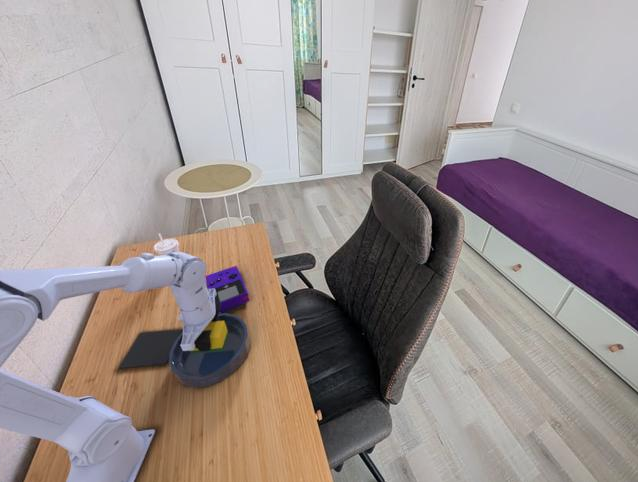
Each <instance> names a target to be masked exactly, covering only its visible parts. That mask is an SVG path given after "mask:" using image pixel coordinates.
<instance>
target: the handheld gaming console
mask: <svg viewBox="0 0 638 482" xmlns="http://www.w3.org/2000/svg"><path fill="white" fill-rule="evenodd" d="M205 280H206V281H205V284H206V287H207V289H215V290H216V293H217V294H216V297H215V303H216V302H219V303H220V304H221V307H220V310H219V314H223V313H228V314H231V313H232V312H235V311H237V310H239V309H241V308H244V304H246V303H249V301H250V298H249V293H248V290H247V288H246V285H245V283H244V280H243V277H242V275H241V273H240V270H239V268H238V265H234V266H231V267H228V268H224V269H221V270H219V271H216V272H213V273H211V274H207V275H205Z"/></svg>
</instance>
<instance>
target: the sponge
mask: <svg viewBox="0 0 638 482" xmlns="http://www.w3.org/2000/svg"><path fill="white" fill-rule="evenodd" d="M205 330H212V331H211V334H210V343H211V348H210V350H209V351H202V352H212V351H222V350H223V349H224V346H225V343H226V340H227V337H228V334H229V333H228V330H227V327H226V324H225V321H214V322H210V323H209V324H208V325H207V326H206V328H205V329H204V331H205ZM202 352H201V351H199V350H198V349H197V348H196V347H195V348H194V350H190V353H191V354H193V353H202Z"/></svg>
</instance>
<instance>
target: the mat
mask: <svg viewBox="0 0 638 482" xmlns="http://www.w3.org/2000/svg"><path fill="white" fill-rule="evenodd" d="M182 332H183V328H180V329H169V330H158V331H146V332H140V333H139V334H138V335H137V337H136V338H135V340H134V342H133V344H132V345H131V347H130V348H129V350H128V352H127V353H126V355H125V356H124V358H123V360H122V361H121V363H120V365H119V366H118V370H125V369H135V368H146V367H153V366H163V365H167V364H169V355H170V350H171V348H172V346H173V344H174V342H175V340H176V339H177V338H178V337H179V336H180V335H181V333H182Z"/></svg>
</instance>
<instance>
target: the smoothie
mask: <svg viewBox="0 0 638 482" xmlns="http://www.w3.org/2000/svg"><path fill="white" fill-rule="evenodd" d="M157 235H158V237H159V239H160V240H159V241H158V242H156V243H155V244H154V246H153V250H154V252H155V253H156V254H157V256H161V255H164V254H165V253H167V252H168V251H171V250H174V251H178V252H180V249H179V245H180V243H179V241H178V240H177V239H176V238H165V239H164V238H163V236H162V234H161V233H160V232H158V234H157Z"/></svg>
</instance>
